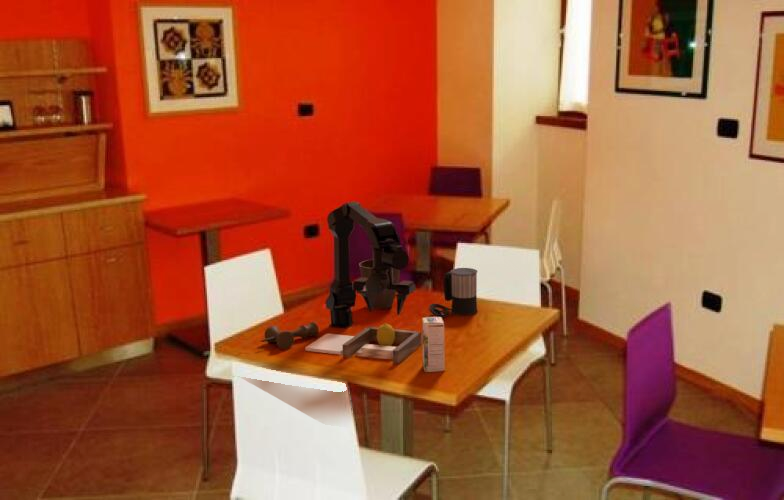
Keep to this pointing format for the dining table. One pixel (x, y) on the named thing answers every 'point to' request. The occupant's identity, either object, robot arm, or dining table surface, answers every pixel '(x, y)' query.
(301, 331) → the kendama
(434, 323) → the syrup box
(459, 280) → the milk frother
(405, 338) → the walnut rack
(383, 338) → the lemon
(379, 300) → the plant pot
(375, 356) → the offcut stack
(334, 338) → the tile
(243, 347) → the dining table surface
